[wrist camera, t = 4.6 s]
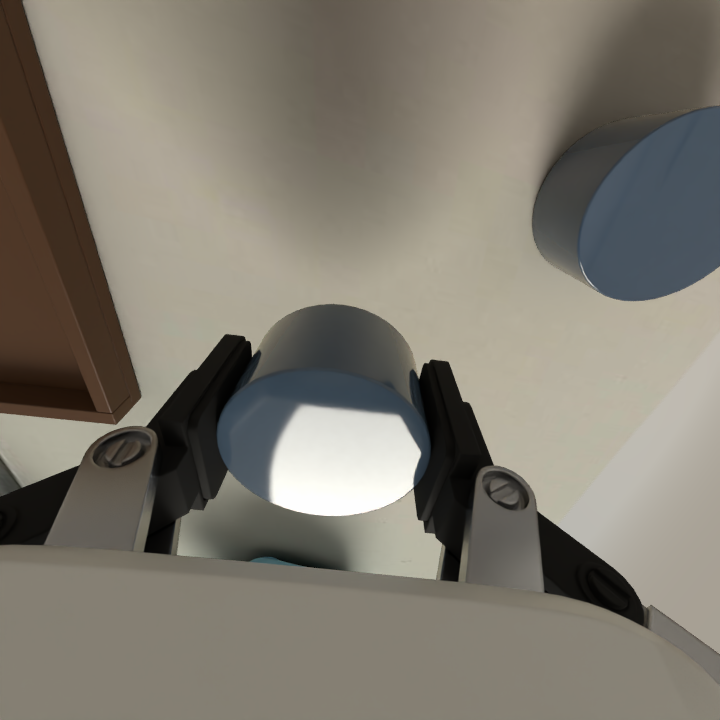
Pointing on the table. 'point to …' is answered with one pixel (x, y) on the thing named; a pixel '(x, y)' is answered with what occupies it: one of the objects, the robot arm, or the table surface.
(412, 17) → the table surface
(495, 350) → the table surface
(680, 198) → the blue-grey hockey puck
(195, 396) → the robot arm
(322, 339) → the blue short cylinder
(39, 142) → the tray
